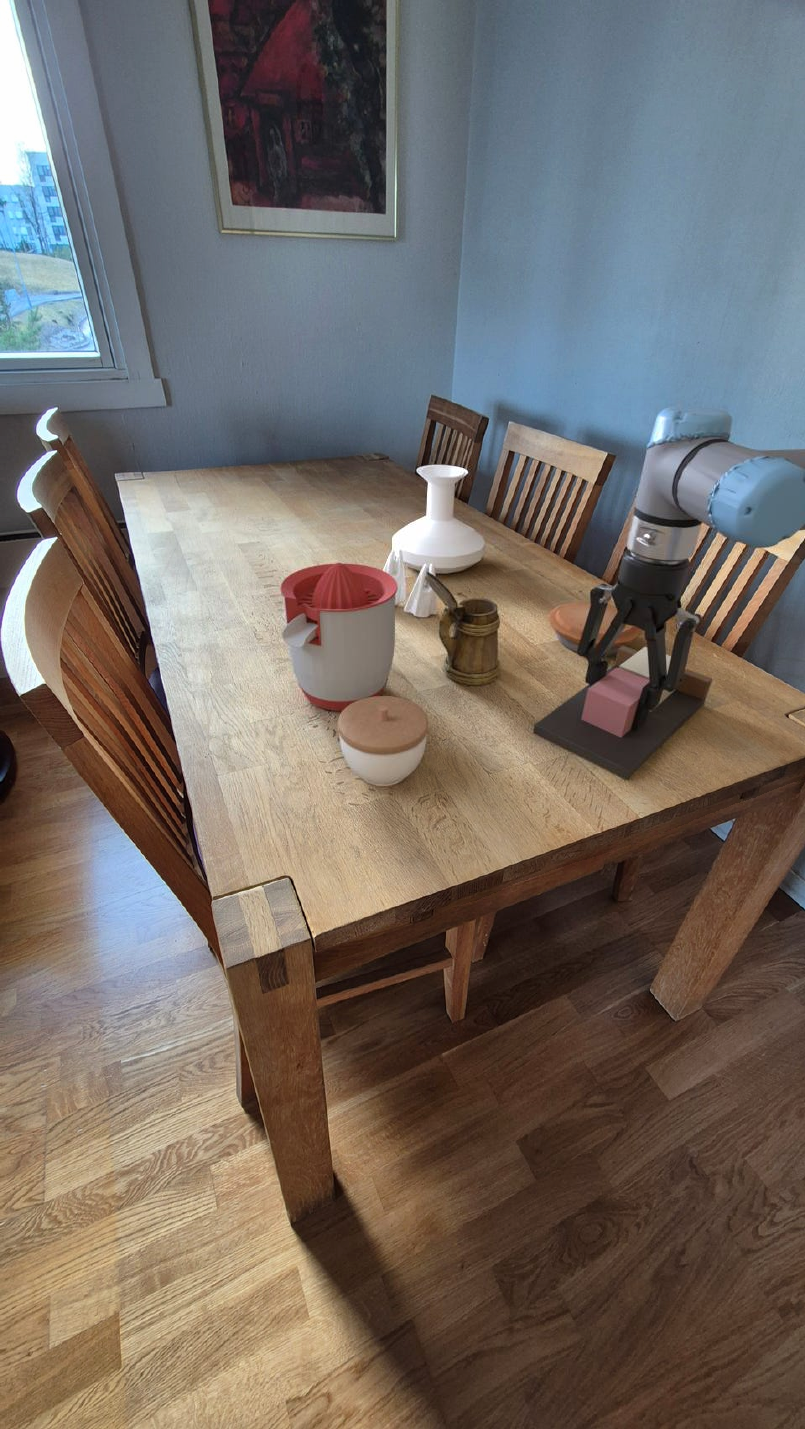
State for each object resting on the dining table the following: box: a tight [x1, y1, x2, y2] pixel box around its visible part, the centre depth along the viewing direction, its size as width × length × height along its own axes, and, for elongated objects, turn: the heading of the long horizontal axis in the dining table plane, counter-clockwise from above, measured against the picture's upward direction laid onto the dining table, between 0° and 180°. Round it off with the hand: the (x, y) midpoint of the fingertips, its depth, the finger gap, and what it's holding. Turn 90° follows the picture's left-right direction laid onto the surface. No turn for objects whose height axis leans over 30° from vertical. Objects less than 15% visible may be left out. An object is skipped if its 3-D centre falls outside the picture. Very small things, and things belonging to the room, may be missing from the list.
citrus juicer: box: [279, 562, 398, 712], centre depth 87 cm, size 16×17×20 cm
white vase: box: [392, 464, 486, 574], centre depth 131 cm, size 20×20×19 cm
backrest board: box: [532, 646, 713, 781], centre depth 88 cm, size 14×24×4 cm, turn 137°
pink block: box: [581, 668, 650, 738], centre depth 85 cm, size 6×8×5 cm
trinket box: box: [337, 695, 429, 787], centre depth 76 cm, size 11×11×9 cm
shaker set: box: [382, 549, 438, 618], centre depth 114 cm, size 12×4×11 cm, turn 60°
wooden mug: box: [425, 572, 501, 686], centre depth 93 cm, size 9×14×18 cm, turn 118°
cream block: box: [619, 646, 675, 712], centre depth 90 cm, size 6×8×5 cm
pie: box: [548, 600, 643, 657], centre depth 107 cm, size 15×16×5 cm
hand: (614, 714), depth 86 cm, fingers open, 6 cm apart
